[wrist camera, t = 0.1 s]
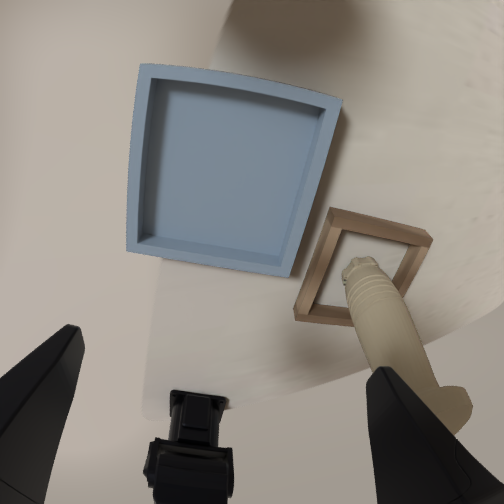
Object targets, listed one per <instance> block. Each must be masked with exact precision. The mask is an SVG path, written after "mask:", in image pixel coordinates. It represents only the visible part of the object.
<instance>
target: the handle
mask: <svg viewBox="0 0 504 504" xmlns="http://www.w3.org/2000/svg"><path fill="white" fill-rule="evenodd" d="M342 281H343V285H345V292H346V299H347V303H348V307H349V311H350V315H351V318H352V321H353V324H354V327H355V330H356V333H357V336H358V338H359V341H360V343H361V345H362V348H363V350H364V353H365V355H366V357H367V360H368V362H369V365H370V367H371V370H372V372H374V371H375V370H376V368H377V367H379V366H390V367H392V368H393V369H394V370H395V372H396V373H397V374H398V375H399V376H400V377H401V378H402V379H403V380H404V381H405V382H406V383H407V385H408V386H409V387H410V388H411V389H412V390H413V391H414V392H415V393H416V394H417V395H418V397H419V398H420V399H421V400H422V401H423V402H424V403H425V404H426V405H427V406H428V407H429V409H430V410H431V411H432V412H433V413H434V414H435V415H436V416H437V417H438V418H439V420H440V421H441V422H442V423H443V424H444V425H445V426H446V427H447V428H448V430H449V431H450V432H451V433H452V434H453V435H455V434H456V433H457V432H458V431H459V430H460V429H461V428H462V427H463V426H464V425H465V424H466V422H467V421H468V420H469V418H470V416H471V413H472V408H473V405H472V402H471V400H470V398H469V396H468V394H467V392H466V390H465V389H464V388H463V387H458V386H444V387H439V385H438V383H437V381H436V378H435V376H434V373H433V371H432V368H431V365H430V363H429V360H428V358H427V355H426V353H425V350H424V348H423V345H422V343H421V340H420V337H419V335H418V332H417V330H416V328H415V325H414V323H413V320H412V318H411V315H410V313H409V311H408V308H407V306H406V304H405V302H404V301H403V299H402V297H401V295H400V294H399V292H398V290H397V289H396V287H395V286H394V284H393V283H392V281H391V280H390V279H389V277H388V276H387V275H386V274H385V273H384V272H383V271H382V270H381V269H380V268H378V264H377V262H376V261H375V260H374V259H373V258H372V257H368V256H367V257H365V258H357V257H356V258H354V259H352V260H351V263H350V264H349V266H348V267H347V268H346V269H344V270H343V271H342Z"/></svg>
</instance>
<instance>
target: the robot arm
mask: <svg viewBox="0 0 504 504" xmlns="http://www.w3.org/2000/svg"><path fill="white" fill-rule="evenodd" d="M84 351H85V344H84V340H83V336H82V332H81V329H80V327H78V326H74V325H70V324H67V325H65V326H64V327H63V328H61V329H60V330H59V331H57V332H56V333H55V334H54V335H53V336H51V337H50V338H49V339H47V340H46V341H45V342H43V343H42V344H41V345H40V346H39V347H37V348H36V349H35V350H34V351H32V352H31V353H30V354H29V355H27V356H26V357H25V358H24V359H23V360H21V361H20V362H19V363H18V364H17V365H15V366H14V367H13V368H12V369H10V370H9V371H8V372H7V373H6V374H4V375H3V376H2V377H1V378H0V504H44V501H45V496H46V492H47V488H48V483H49V479H50V475H51V471H52V467H53V464H54V460H55V456H56V453H57V449H58V445H59V442H60V439H61V435H62V432H63V429H64V425H65V422H66V419H67V416H68V413H69V410H70V407H71V404H72V401H73V397H74V394H75V390H76V385H77V380H78V376H79V372H80V368H81V364H82V360H83V355H84ZM366 395H367V396H366V397H367V416H368V431H369V438H370V445H371V452H372V460H373V467H374V475H375V485H376V494H377V504H504V484H503V483H501V482H500V481H499V480H498V479H497V478H496V477H494V476H493V475H492V474H491V473H490V472H489V471H488V470H487V469H486V468H485V467H484V466H483V465H482V464H480V463H479V462H478V461H477V460H476V459H475V458H474V457H473V456H472V455H471V454H470V453H469V452H468V450H466V448H465V447H464V446H463V445H462V444H461V443H460V442H459V441H458V439H456V438H455V436H454V435H453V434H452V433H451V432H450V431H449V430H448V428H447V427H446V426H445V425H444V424H443V423H442V422H441V421H440V420H439V418H438V417H437V416H436V415H435V414H434V413H433V412H432V411H431V410H430V409H429V407H428V406H427V405H426V404H425V403H424V402H423V401H422V400H421V399H420V398H419V397H418V395H417V394H416V393H415V392H414V391H413V390H412V389H411V388H410V387H409V386H408V385H407V383H406V382H405V381H404V380H403V379H402V378H401V377H400V376H399V375H398V374H397V373H396V372H395V370H394V369H393V368H392V367H390V366H379V367H377V368H376V370H375V371H374V372H373V374H372V375H371V377H370V378H369V379H368V381H367V383H366ZM225 404H226V398H224V397H216V396H209V395H201V394H194V393H188V392H181V391H175V390H172V391H171V392H170V417H171V425H170V431H169V438H168V440H164V439H160V438H157V437H156V438H155V441H153V442H150V445H149V451H148V456H147V459H146V463H145V466H144V470H143V474H144V475H145V476H146V478H147V481H148V487H149V488H153V499H154V504H227V500H228V498H231V497H232V494H233V488H234V468H233V452H232V448H229V447H228V448H221V447H218V436H219V435H218V434H219V423H220V421H221V418H222V414H223V411H224V408H225Z"/></svg>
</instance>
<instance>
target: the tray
mask: <svg viewBox="0 0 504 504" xmlns="http://www.w3.org/2000/svg"><path fill="white" fill-rule="evenodd" d="M342 101H343V100H342V99H339V98H336V97H334V96H330V95H327V94H323V93H320V92H316V91H312V90H309V89H305V88H301V87H297V86H293V85H288V84H284V83H280V82H275V81H271V80H266V79H261V78H256V77H251V76H246V75H240V74H234V73H228V72H222V71H215V70H208V69H201V68H192V67H184V66H174V65H163V64H140V67H139V74H138V80H137V87H136V95H135V104H134V111H133V121H132V131H131V141H130V154H129V168H128V187H127V188H128V190H127V222H126V224H127V225H126V229H127V230H126V237H127V238H126V243H127V244H126V251H128V252H133V253H139V254H145V255H151V256H156V257H162V258H168V259H174V260H180V261H186V262H192V263H198V264H204V265H210V266H216V267H222V268H229V269H235V270H241V271H248V272H254V273H260V274H267V275H273V276H280V277H286V278H289V275H290V272H291V269H292V266H293V263H294V260H295V257H296V254H297V251H298V248H299V245H300V242H301V238H302V235H303V232H304V229H305V226H306V223H307V220H308V217H309V213H310V210H311V207H312V204H313V201H314V197H315V194H316V191H317V188H318V184H319V181H320V178H321V174H322V171H323V168H324V164H325V161H326V158H327V154H328V151H329V147H330V144H331V140H332V137H333V133H334V130H335V126H336V123H337V119H338V116H339V112H340V108H341V105H342Z"/></svg>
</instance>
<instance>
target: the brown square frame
mask: <svg viewBox="0 0 504 504" xmlns="http://www.w3.org/2000/svg"><path fill="white" fill-rule="evenodd" d="M342 229H344V230H349V231H354V232H359V233H364V234H368V235H373V236H377V237H382V238H387V239H391V240H396V241H400V242H405V243H409V244H410V246H409V248H408V250H407V252H406V254H405V256H404V258H403V260H402V262H401V264H400V266H399V268H398V270H397V272H396V274H395V276H394V278H393V280H392V283H393V284H394V286H395V287H396V289H397V290H398V292H399V294H400V295H401V297H402V298H403V297H404V295H405V293H406V291H407V289H408V288H409V286H410V284H411V282H412V280H413V278H414V277H415V275H416V273H417V271H418V269H419V267H420V265H421V263H422V261H423V259H424V257H425V255H426V253H427V251H428V249H429V247H430V245H431V243H432V241H433V238H432V237H431V236H430V235H429V234H428V233H427V232H426V230H423V229H420V228H416V227H412V226H408V225H404V224H400V223H396V222H392V221H388V220H384V219H380V218H376V217H372V216H368V215H363V214H359V213H355V212H350V211H346V210H342V209H337V208H333V207H330V208H329V211H328V214H327V217H326V219H325V222H324V225H323V228H322V231H321V234H320V237H319V240H318V243H317V245H316V248H315V251H314V254H313V257H312V259H311V262H310V265H309V268H308V270H307V273H306V276H305V279H304V281H303V284H302V287H301V289H300V292H299V295H298V297H297V300H296V302H295V305H294V308H293V310H294V316H295V321H303V322H312V323H321V324H331V325H341V326H351V327H354V324H353V321H352V318H351V315H350V311H349V308H344V307H336V306H328V305H320V304H312V303H313V301H314V298H315V296H316V293H317V291H318V289H319V286H320V284H321V281H322V279H323V276H324V274H325V271H326V269H327V266H328V264H329V261H330V259H331V256H332V254H333V251H334V248H335V246H336V243H337V241H338V238H339V235H340V233H341V230H342Z"/></svg>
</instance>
